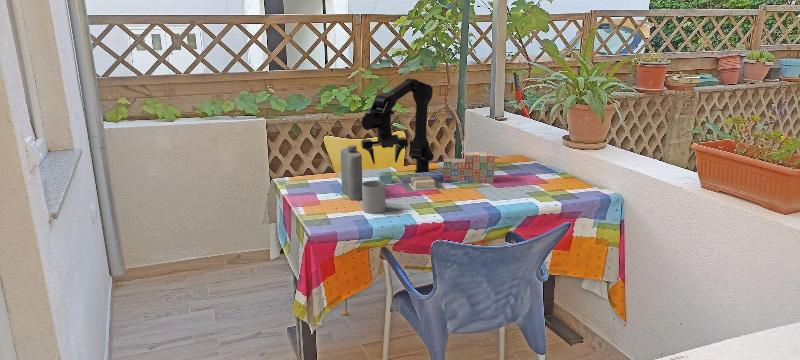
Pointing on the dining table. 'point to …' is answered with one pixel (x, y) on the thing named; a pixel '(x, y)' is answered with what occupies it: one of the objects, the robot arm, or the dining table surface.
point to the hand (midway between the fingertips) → (384, 163)
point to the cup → (373, 197)
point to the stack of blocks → (471, 168)
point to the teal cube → (385, 177)
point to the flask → (351, 172)
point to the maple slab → (422, 182)
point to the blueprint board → (409, 188)
